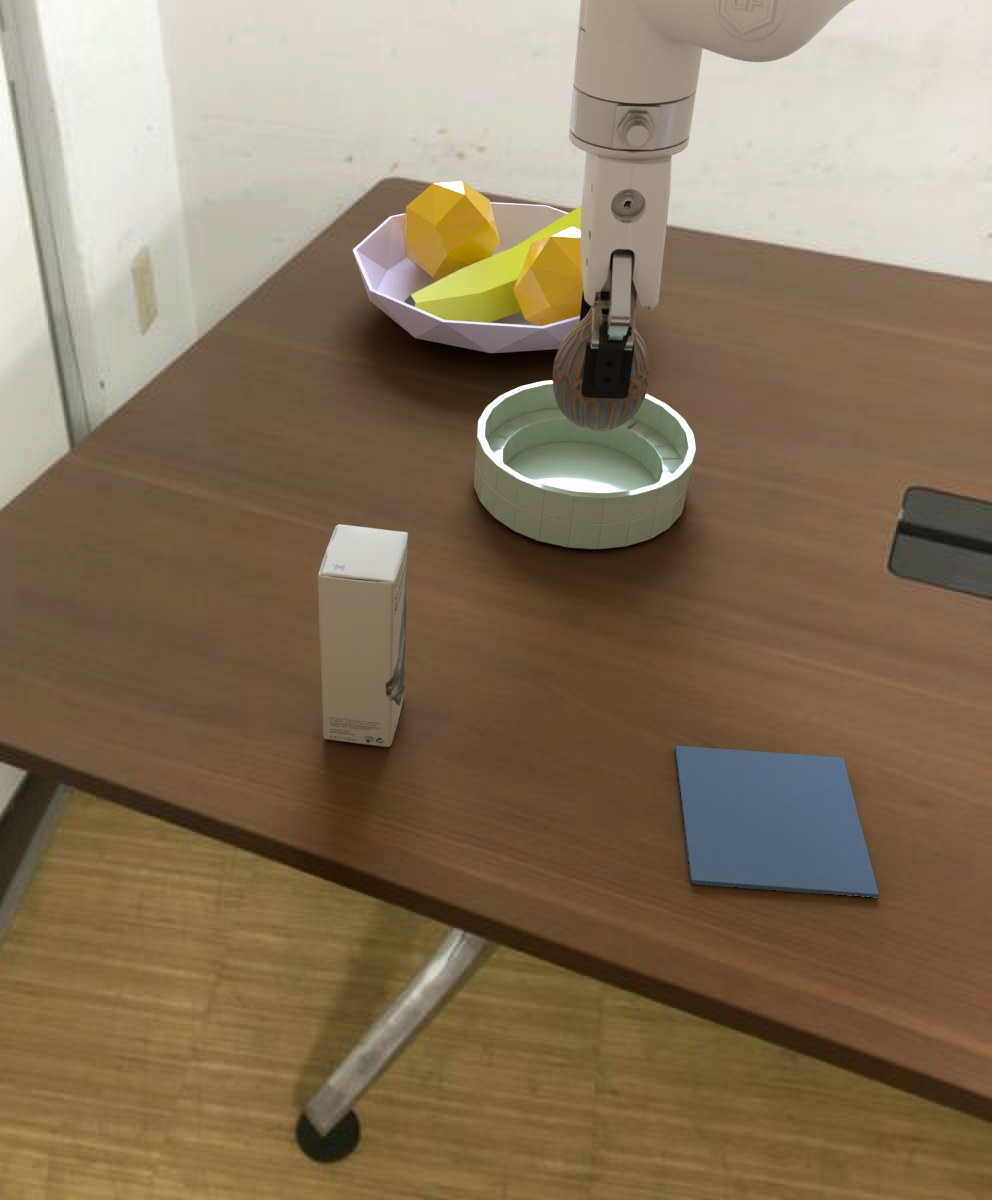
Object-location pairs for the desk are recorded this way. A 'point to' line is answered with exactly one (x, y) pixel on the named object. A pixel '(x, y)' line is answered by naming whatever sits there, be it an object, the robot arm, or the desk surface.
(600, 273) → the robot arm
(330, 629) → the box
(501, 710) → the desk surface
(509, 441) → the bowl
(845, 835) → the mat
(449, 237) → the fruit bowl
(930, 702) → the desk surface
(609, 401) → the vase
